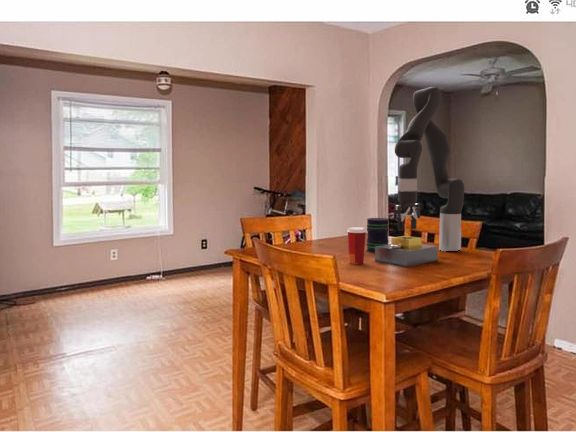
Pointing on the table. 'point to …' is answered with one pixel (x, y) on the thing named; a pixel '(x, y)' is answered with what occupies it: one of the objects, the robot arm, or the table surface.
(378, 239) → the storage jar
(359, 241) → the paper cup
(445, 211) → the robot arm
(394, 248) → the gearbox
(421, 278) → the table surface
